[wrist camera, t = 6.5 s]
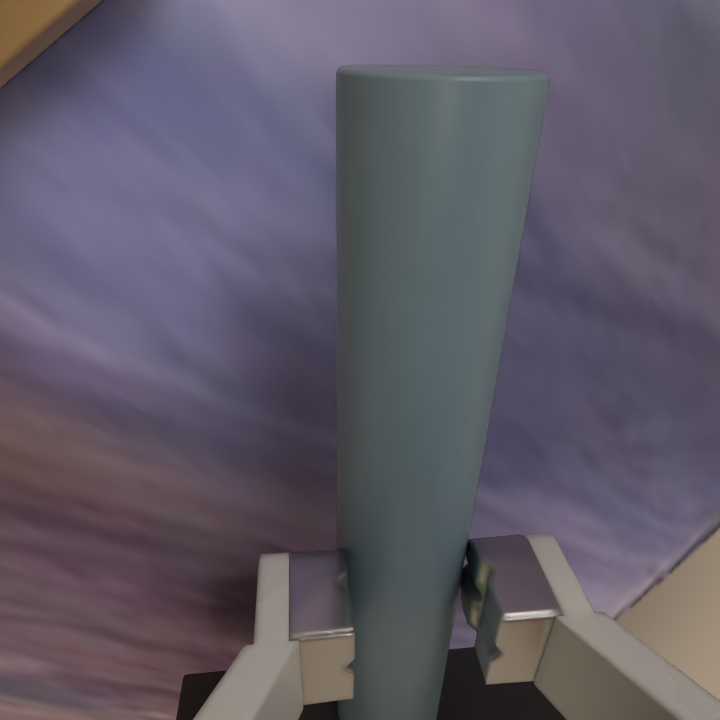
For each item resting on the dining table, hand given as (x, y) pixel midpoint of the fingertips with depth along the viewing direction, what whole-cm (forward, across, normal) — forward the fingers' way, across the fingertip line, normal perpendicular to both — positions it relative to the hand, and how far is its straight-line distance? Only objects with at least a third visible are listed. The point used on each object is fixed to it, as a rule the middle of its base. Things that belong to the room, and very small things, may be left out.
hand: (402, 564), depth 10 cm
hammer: (+2, 0, 0) cm, 2 cm away
